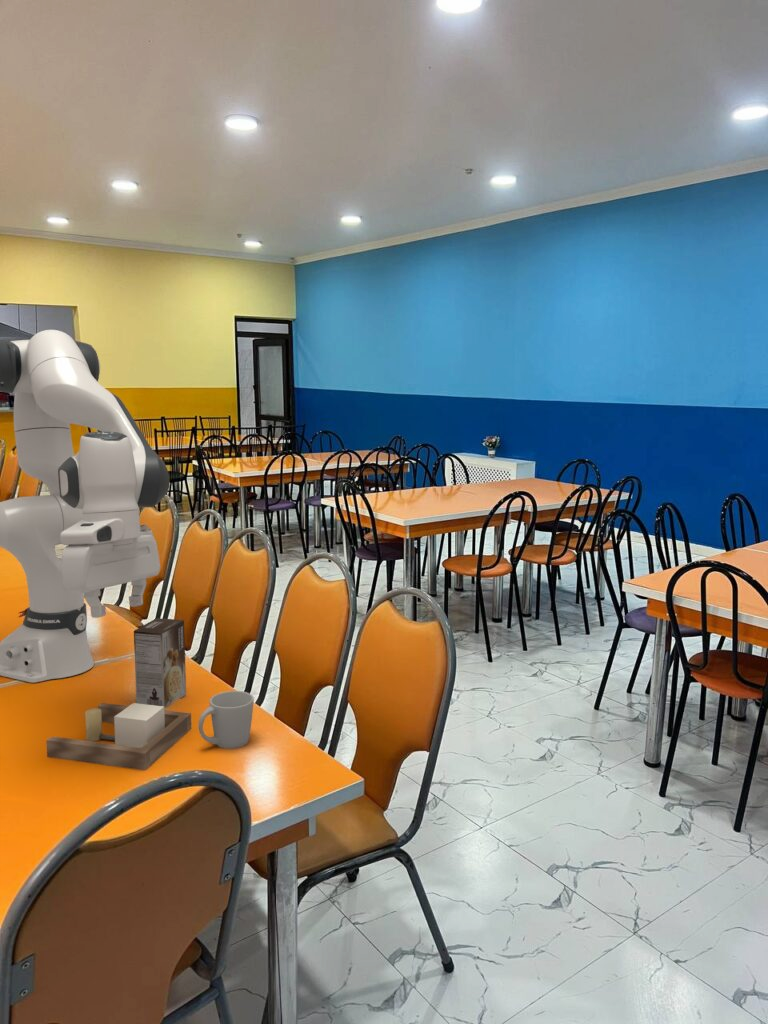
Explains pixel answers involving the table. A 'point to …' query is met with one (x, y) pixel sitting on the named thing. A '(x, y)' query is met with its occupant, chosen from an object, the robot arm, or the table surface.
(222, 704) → the cup
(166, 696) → the coffee box
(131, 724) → the white cube and knob
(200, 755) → the table surface
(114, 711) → the shelf lane
